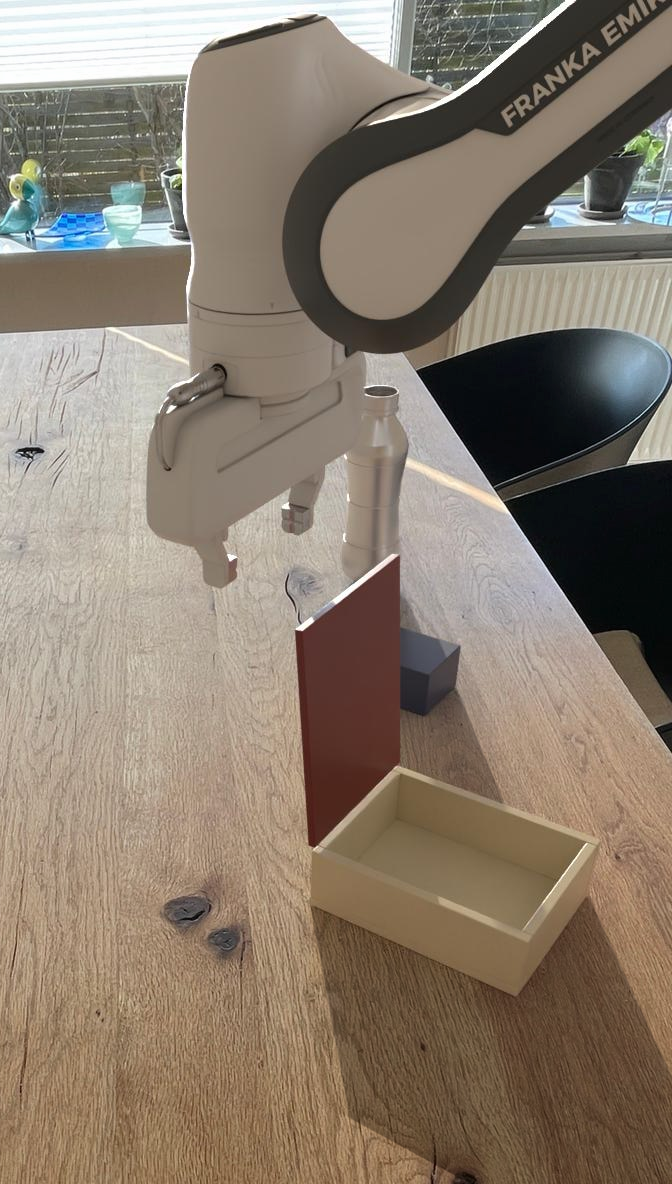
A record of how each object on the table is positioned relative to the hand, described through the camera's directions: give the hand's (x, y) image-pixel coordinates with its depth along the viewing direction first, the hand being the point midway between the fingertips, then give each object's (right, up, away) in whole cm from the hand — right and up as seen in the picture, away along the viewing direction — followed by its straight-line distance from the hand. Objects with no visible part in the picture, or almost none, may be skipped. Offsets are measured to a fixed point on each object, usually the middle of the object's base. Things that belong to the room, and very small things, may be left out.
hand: (260, 555), depth 78 cm
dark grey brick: (+14, -5, +30) cm, 33 cm away
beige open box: (+15, -24, +7) cm, 29 cm away
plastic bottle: (+15, +10, +47) cm, 50 cm away
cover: (+7, -10, +2) cm, 12 cm away
